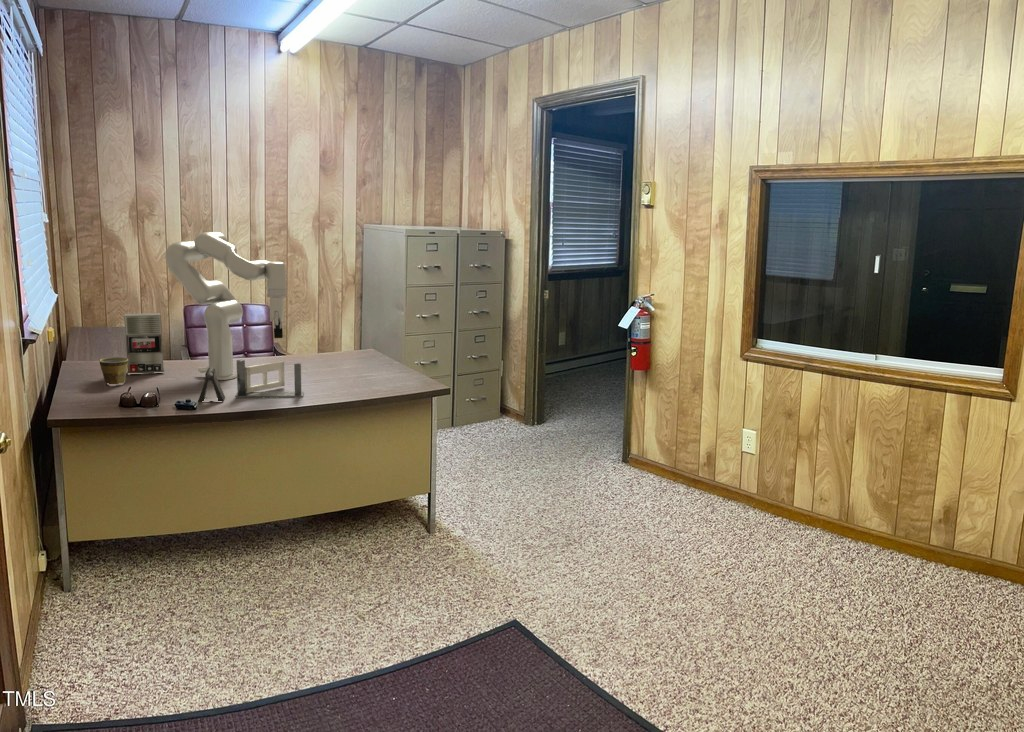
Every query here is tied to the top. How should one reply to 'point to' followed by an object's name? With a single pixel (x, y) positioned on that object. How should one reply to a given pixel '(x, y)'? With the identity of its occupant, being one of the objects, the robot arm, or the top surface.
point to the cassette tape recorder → (144, 343)
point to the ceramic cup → (114, 369)
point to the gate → (264, 376)
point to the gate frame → (242, 392)
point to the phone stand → (215, 383)
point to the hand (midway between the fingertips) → (278, 337)
